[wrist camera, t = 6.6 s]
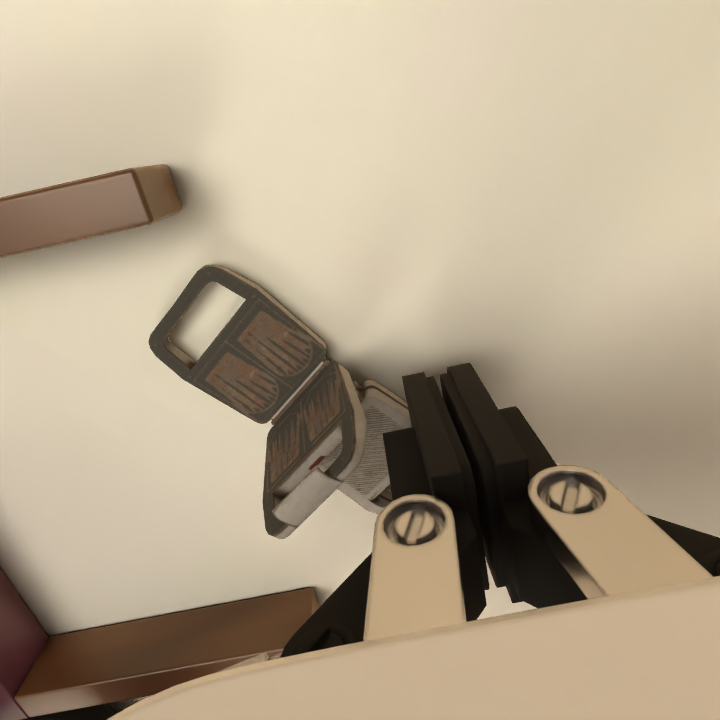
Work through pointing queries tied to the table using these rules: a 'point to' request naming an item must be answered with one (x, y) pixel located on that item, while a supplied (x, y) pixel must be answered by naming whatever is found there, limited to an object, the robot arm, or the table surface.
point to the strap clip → (290, 402)
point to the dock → (141, 637)
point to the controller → (79, 714)
